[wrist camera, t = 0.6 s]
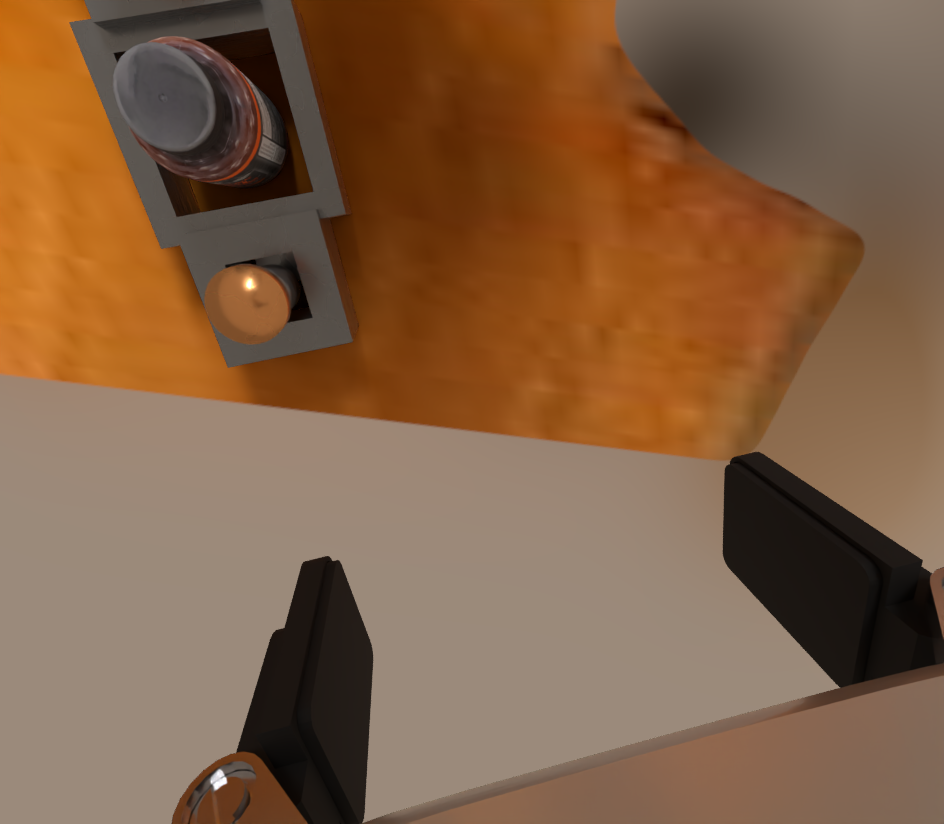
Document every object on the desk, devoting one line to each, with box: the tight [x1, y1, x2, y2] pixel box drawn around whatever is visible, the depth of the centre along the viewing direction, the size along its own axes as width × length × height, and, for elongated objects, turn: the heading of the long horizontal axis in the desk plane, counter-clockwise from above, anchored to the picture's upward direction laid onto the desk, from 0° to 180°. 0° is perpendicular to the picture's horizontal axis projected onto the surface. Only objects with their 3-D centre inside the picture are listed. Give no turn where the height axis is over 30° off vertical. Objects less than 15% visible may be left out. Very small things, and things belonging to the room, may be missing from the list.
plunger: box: [204, 264, 300, 344], centre depth 28 cm, size 4×4×6 cm
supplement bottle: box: [113, 36, 288, 188], centre depth 26 cm, size 6×6×11 cm
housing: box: [69, 0, 359, 368], centre depth 28 cm, size 26×11×5 cm, turn 10°
